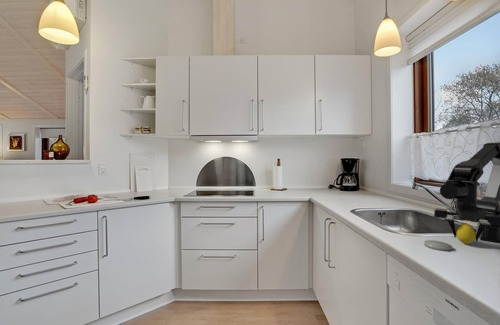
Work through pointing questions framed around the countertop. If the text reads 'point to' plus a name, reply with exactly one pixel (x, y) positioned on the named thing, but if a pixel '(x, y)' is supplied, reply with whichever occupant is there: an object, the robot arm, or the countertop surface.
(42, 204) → the countertop surface
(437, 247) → the coaster
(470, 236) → the lemon
